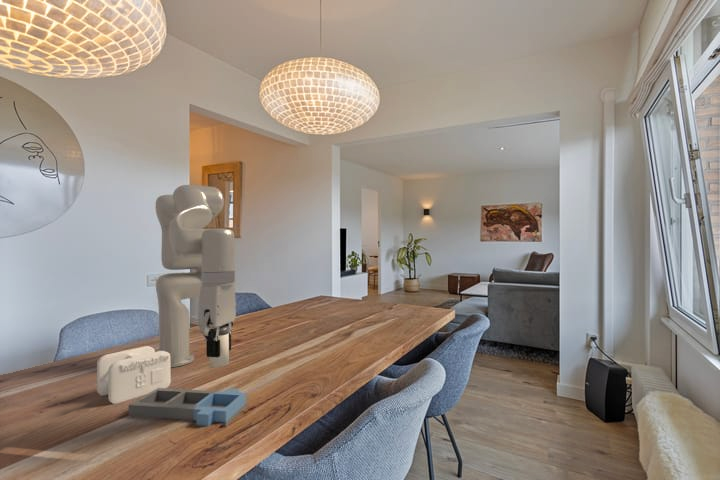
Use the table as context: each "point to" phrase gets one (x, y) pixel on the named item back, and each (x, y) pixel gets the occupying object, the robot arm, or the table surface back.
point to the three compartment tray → (190, 405)
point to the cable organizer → (132, 373)
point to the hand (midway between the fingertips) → (219, 352)
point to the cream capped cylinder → (222, 348)
